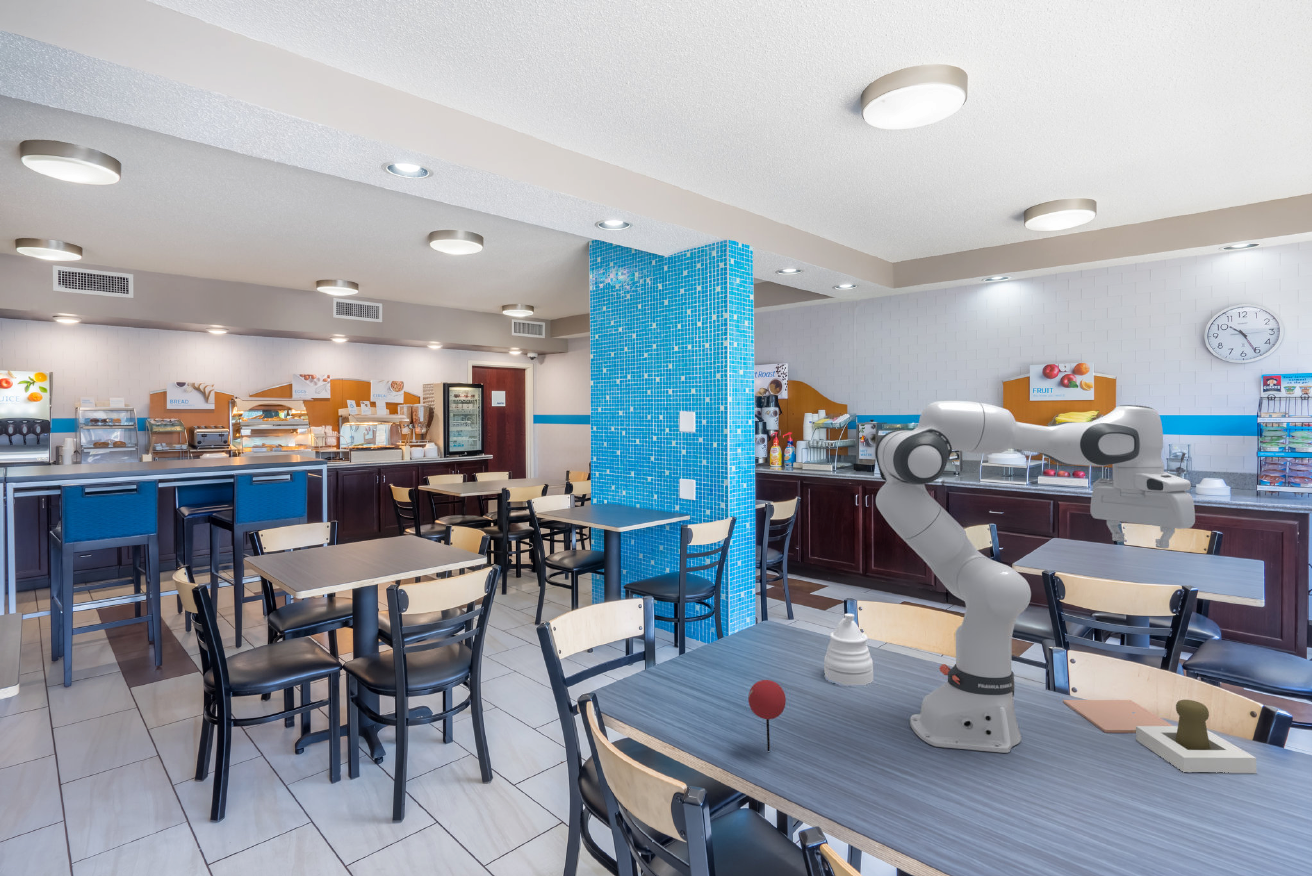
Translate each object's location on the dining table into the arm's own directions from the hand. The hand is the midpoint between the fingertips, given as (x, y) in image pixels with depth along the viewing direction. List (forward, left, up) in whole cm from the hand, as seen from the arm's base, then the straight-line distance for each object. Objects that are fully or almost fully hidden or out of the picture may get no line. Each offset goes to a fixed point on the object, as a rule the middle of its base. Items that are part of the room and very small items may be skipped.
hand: (1139, 544), depth 138 cm
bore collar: (+5, -7, -42) cm, 43 cm away
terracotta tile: (+2, +11, -42) cm, 43 cm away
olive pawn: (+5, -7, -42) cm, 43 cm away
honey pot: (-54, +35, -42) cm, 77 cm away
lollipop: (-81, -6, -42) cm, 92 cm away
